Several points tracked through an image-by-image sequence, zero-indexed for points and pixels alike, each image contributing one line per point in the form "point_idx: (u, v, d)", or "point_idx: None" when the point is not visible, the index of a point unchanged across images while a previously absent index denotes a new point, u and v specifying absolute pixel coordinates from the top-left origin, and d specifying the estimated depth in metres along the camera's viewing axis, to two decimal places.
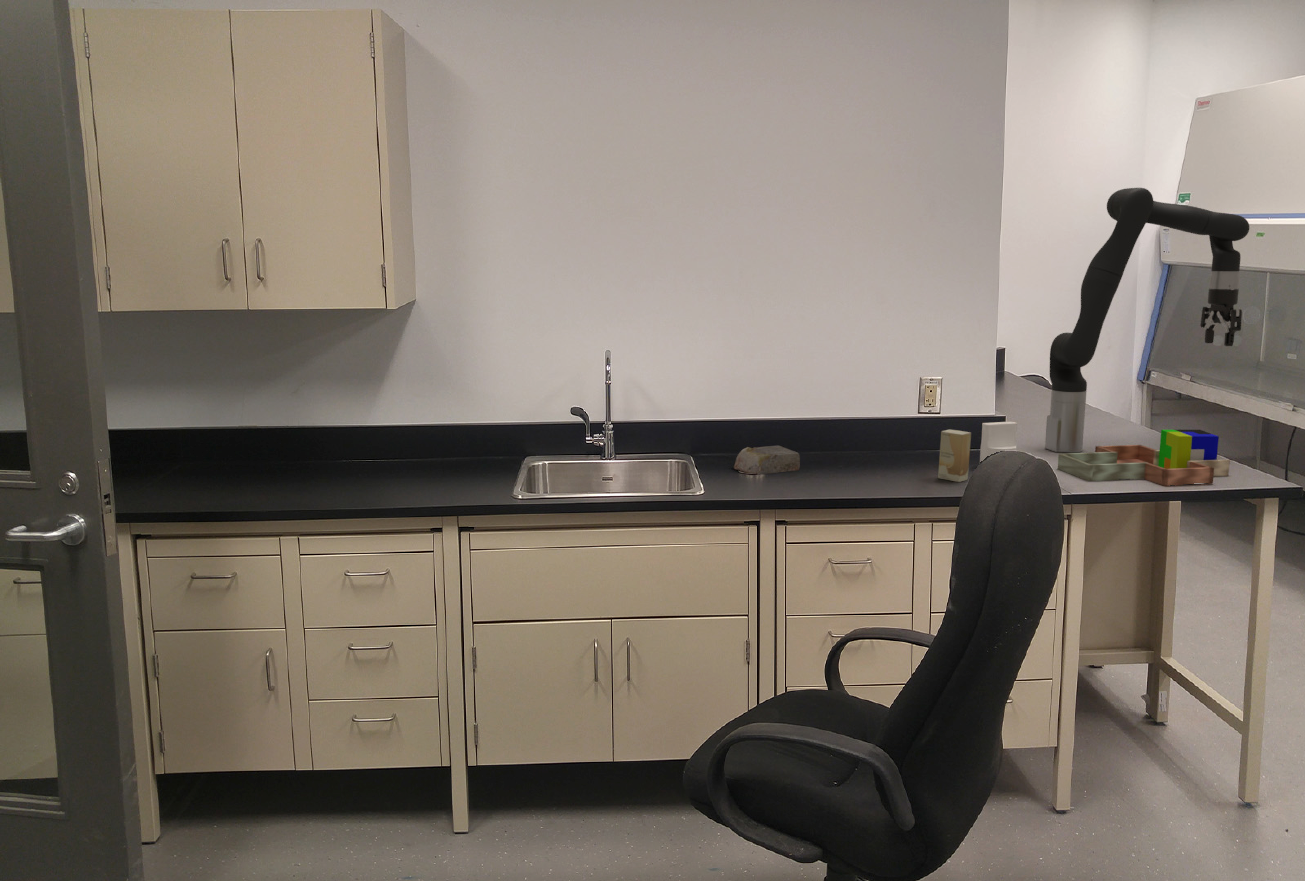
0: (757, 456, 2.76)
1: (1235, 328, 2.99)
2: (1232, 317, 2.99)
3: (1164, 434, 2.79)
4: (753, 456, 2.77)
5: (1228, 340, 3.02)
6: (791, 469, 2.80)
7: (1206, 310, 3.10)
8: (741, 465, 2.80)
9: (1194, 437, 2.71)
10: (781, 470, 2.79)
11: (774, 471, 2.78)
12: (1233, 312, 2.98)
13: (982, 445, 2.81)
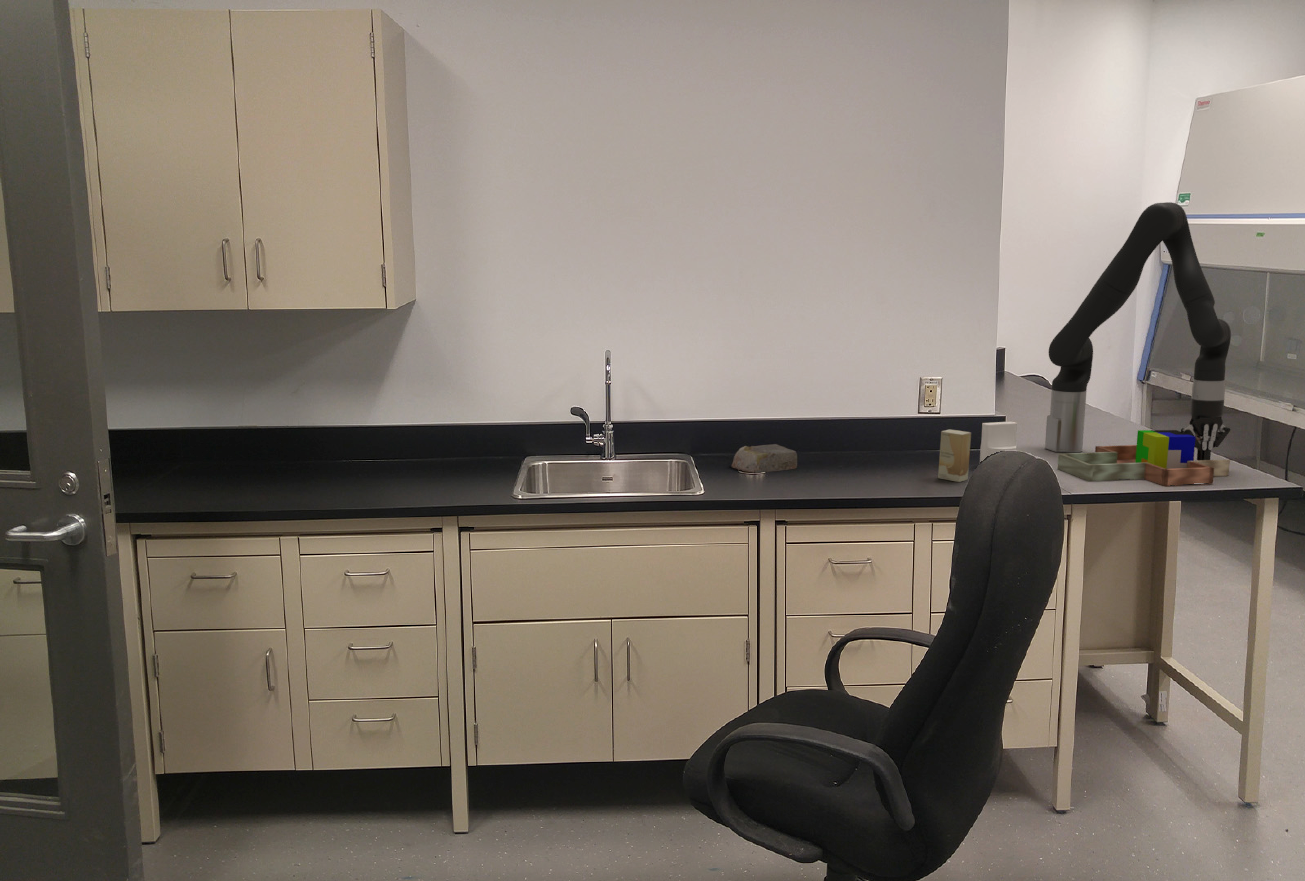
0: (755, 455, 2.77)
1: None
2: (1224, 435, 2.76)
3: (1141, 435, 2.78)
4: (751, 455, 2.78)
5: (1209, 457, 2.77)
6: (789, 467, 2.82)
7: None
8: (739, 464, 2.82)
9: (1171, 438, 2.70)
10: (779, 468, 2.81)
11: (772, 470, 2.80)
12: (1228, 431, 2.76)
13: (982, 445, 2.81)
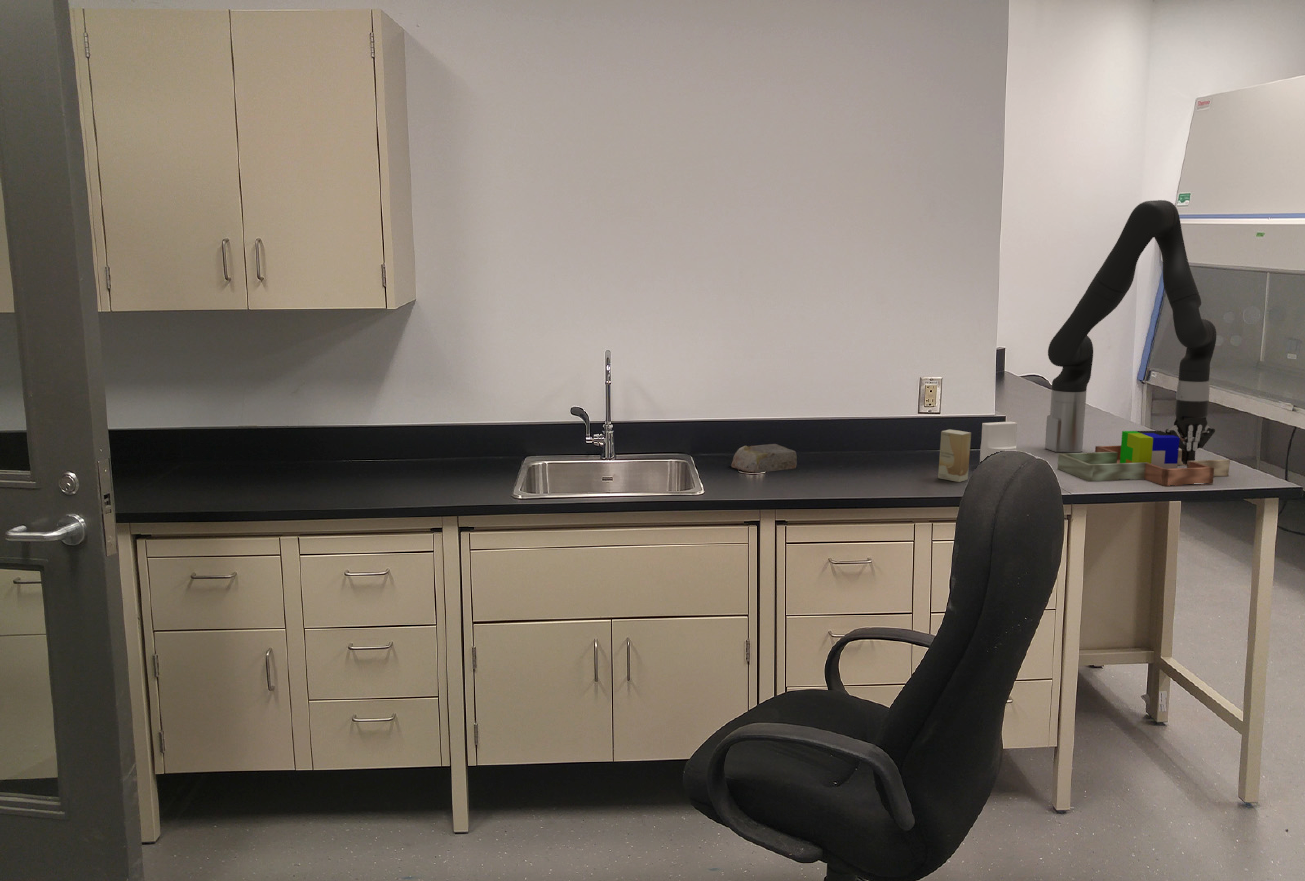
0: (755, 454, 2.78)
1: None
2: (1209, 436, 2.75)
3: (1125, 435, 2.77)
4: (751, 454, 2.79)
5: (1193, 458, 2.76)
6: (788, 467, 2.82)
7: None
8: (739, 464, 2.82)
9: (1155, 438, 2.69)
10: (778, 468, 2.81)
11: (771, 469, 2.80)
12: (1213, 432, 2.75)
13: (982, 445, 2.81)
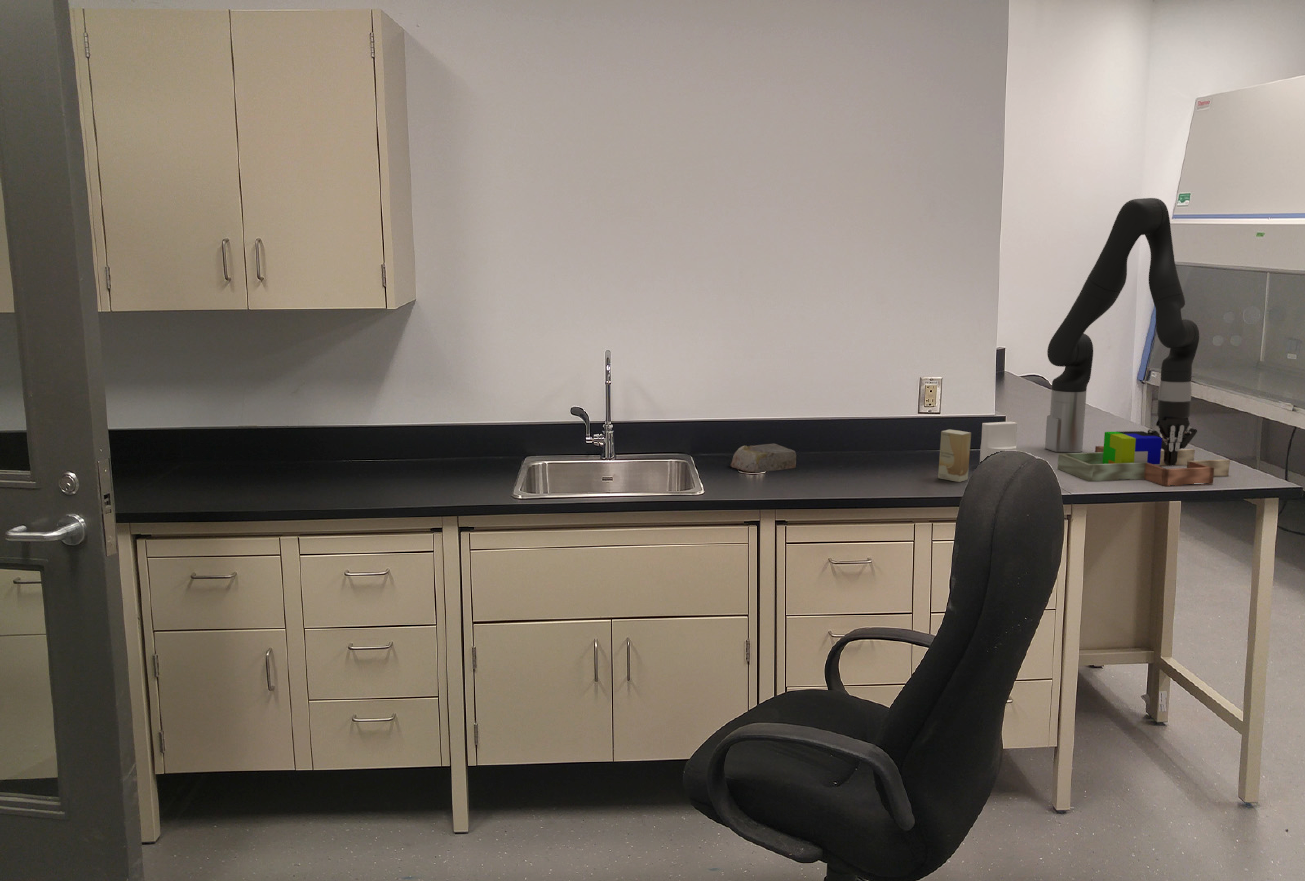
0: (754, 454, 2.78)
1: None
2: (1191, 436, 2.75)
3: (1107, 436, 2.76)
4: (750, 454, 2.79)
5: (1175, 459, 2.76)
6: (788, 467, 2.83)
7: None
8: (738, 463, 2.82)
9: (1137, 439, 2.68)
10: (778, 468, 2.81)
11: (771, 469, 2.80)
12: (1195, 432, 2.75)
13: (982, 445, 2.81)
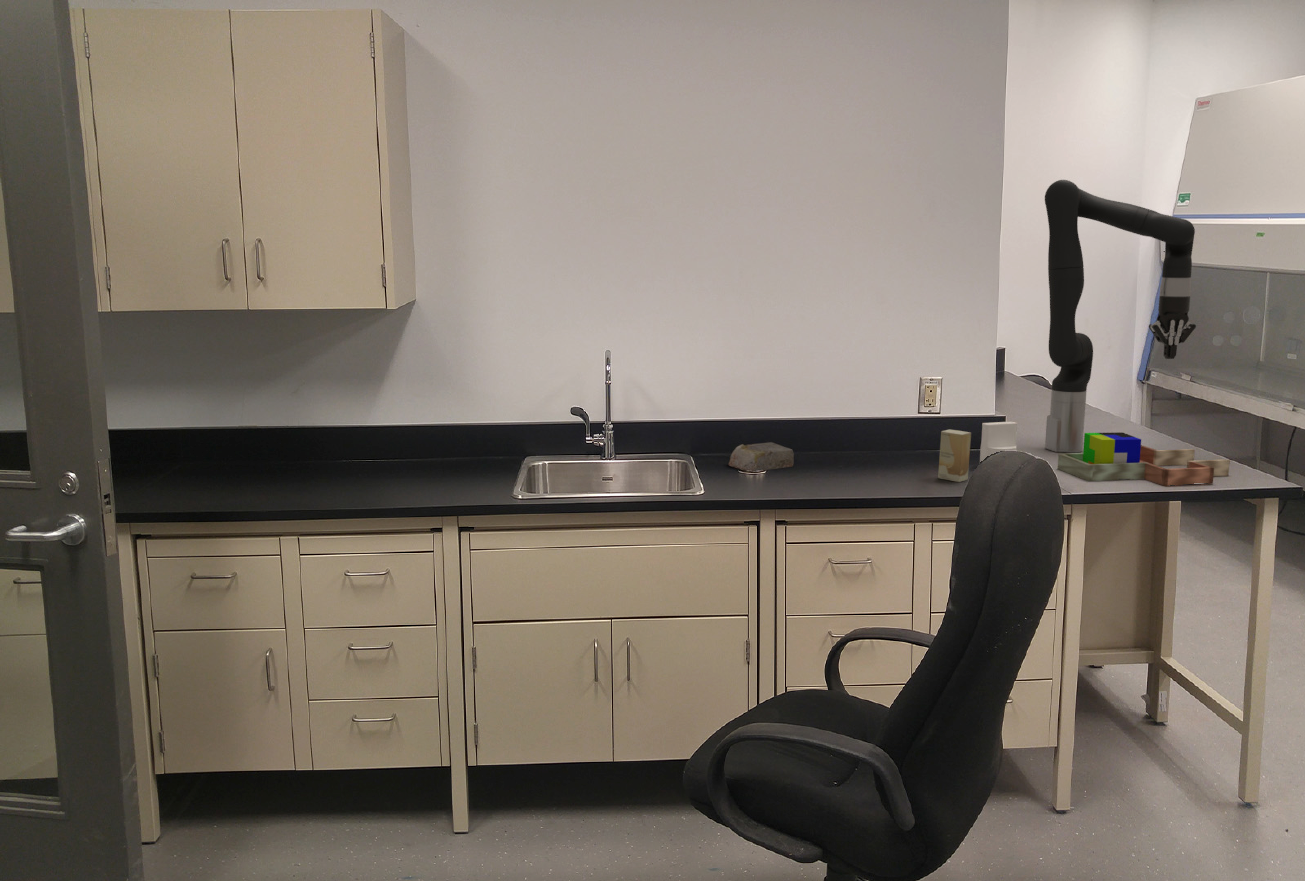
0: (753, 453, 2.80)
1: None
2: (1190, 331, 2.90)
3: (1087, 437, 2.75)
4: (749, 453, 2.81)
5: (1175, 352, 2.91)
6: (785, 465, 2.85)
7: None
8: (736, 462, 2.84)
9: (1117, 440, 2.67)
10: (776, 467, 2.83)
11: (769, 468, 2.82)
12: (1194, 327, 2.90)
13: (982, 445, 2.81)
